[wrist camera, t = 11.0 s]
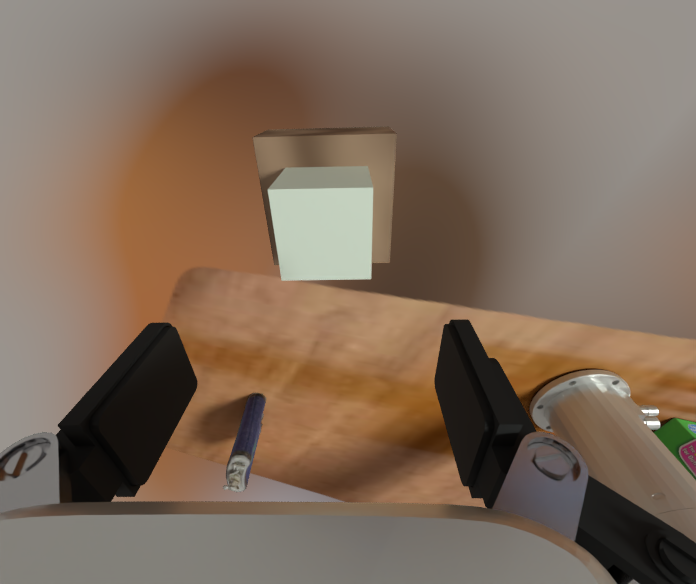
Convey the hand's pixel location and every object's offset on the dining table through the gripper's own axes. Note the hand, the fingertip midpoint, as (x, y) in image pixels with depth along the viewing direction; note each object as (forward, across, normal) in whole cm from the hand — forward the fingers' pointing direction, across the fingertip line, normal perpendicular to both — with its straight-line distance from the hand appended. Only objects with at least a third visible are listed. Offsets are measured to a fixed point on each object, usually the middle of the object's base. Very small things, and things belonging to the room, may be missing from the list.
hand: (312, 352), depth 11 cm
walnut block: (+21, 0, 0) cm, 21 cm away
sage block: (+16, 0, 0) cm, 16 cm away
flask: (+21, +14, +32) cm, 40 cm away
